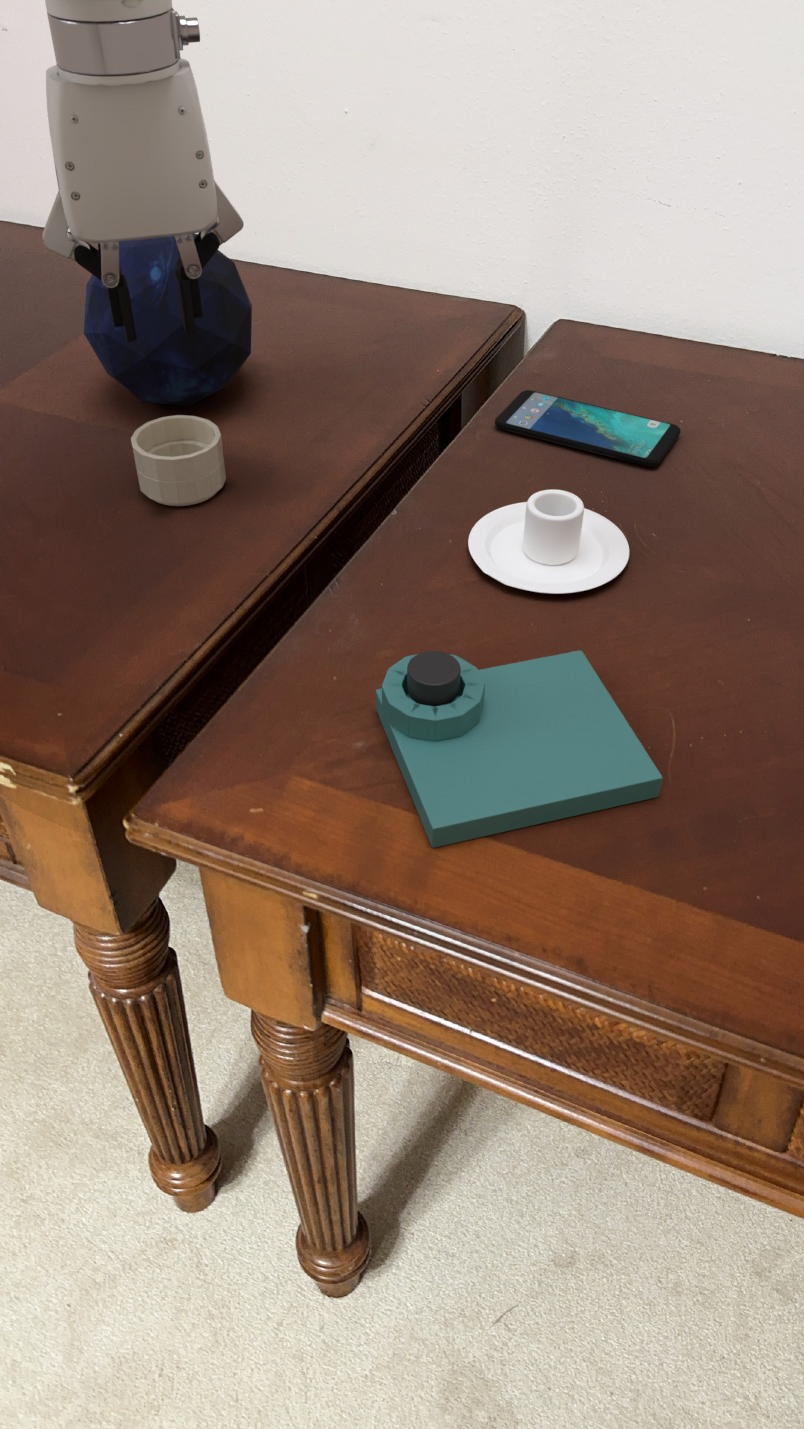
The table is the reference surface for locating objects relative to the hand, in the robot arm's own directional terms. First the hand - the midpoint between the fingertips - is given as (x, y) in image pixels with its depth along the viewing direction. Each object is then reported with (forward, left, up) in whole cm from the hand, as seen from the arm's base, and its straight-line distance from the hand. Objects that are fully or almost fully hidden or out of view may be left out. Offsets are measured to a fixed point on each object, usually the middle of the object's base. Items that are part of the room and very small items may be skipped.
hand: (159, 328), depth 80 cm
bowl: (0, 0, -13) cm, 13 cm away
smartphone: (+35, -1, -13) cm, 37 cm away
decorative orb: (+2, +16, -13) cm, 21 cm away
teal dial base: (+15, -36, -13) cm, 41 cm away
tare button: (+11, -32, -10) cm, 36 cm away
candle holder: (+25, -17, -13) cm, 33 cm away
